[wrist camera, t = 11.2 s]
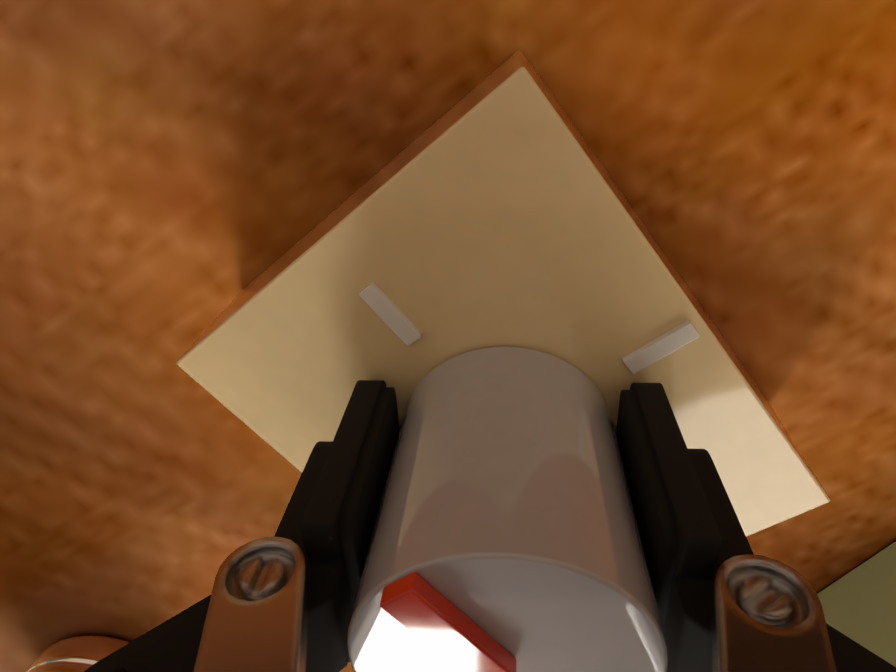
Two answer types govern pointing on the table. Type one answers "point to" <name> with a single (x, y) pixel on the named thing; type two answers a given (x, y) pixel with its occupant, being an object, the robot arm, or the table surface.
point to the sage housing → (866, 604)
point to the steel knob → (506, 530)
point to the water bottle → (75, 654)
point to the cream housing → (493, 297)
